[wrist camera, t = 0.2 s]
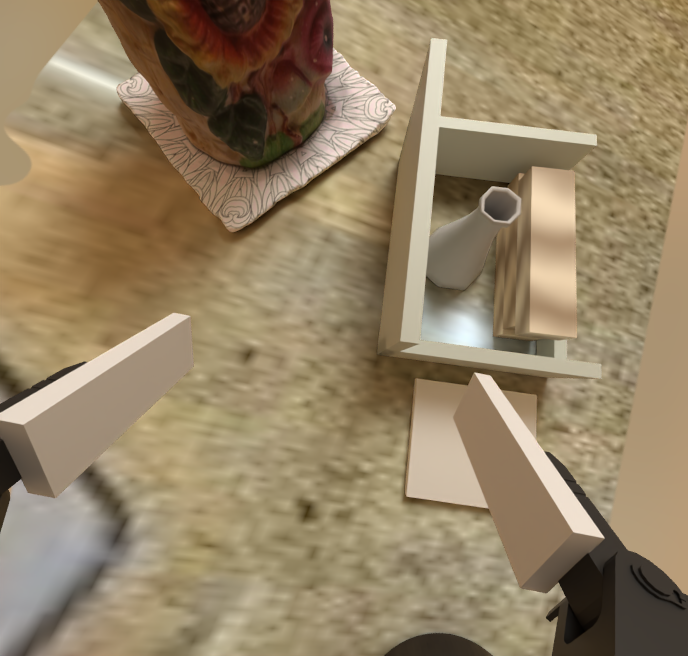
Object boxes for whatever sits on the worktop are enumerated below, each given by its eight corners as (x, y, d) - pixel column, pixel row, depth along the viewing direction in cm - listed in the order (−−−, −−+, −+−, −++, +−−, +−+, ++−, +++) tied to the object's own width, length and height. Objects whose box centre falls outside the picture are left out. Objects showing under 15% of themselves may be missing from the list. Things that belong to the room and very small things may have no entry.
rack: (547, 377, 28) (694, 380, 16) (376, 354, 29) (400, 341, 17) (549, 178, 32) (670, 64, 20) (399, 160, 32) (431, 38, 21)
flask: (492, 245, 31) (562, 185, 21) (468, 301, 30) (530, 266, 20) (432, 219, 31) (474, 148, 21) (407, 273, 30) (438, 225, 20)
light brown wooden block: (529, 345, 29) (576, 337, 23) (491, 340, 29) (529, 331, 23) (531, 201, 32) (574, 162, 26) (497, 197, 32) (532, 157, 26)
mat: (529, 510, 26) (534, 515, 25) (404, 492, 26) (406, 496, 26) (531, 394, 28) (537, 394, 27) (415, 378, 28) (417, 378, 27)
